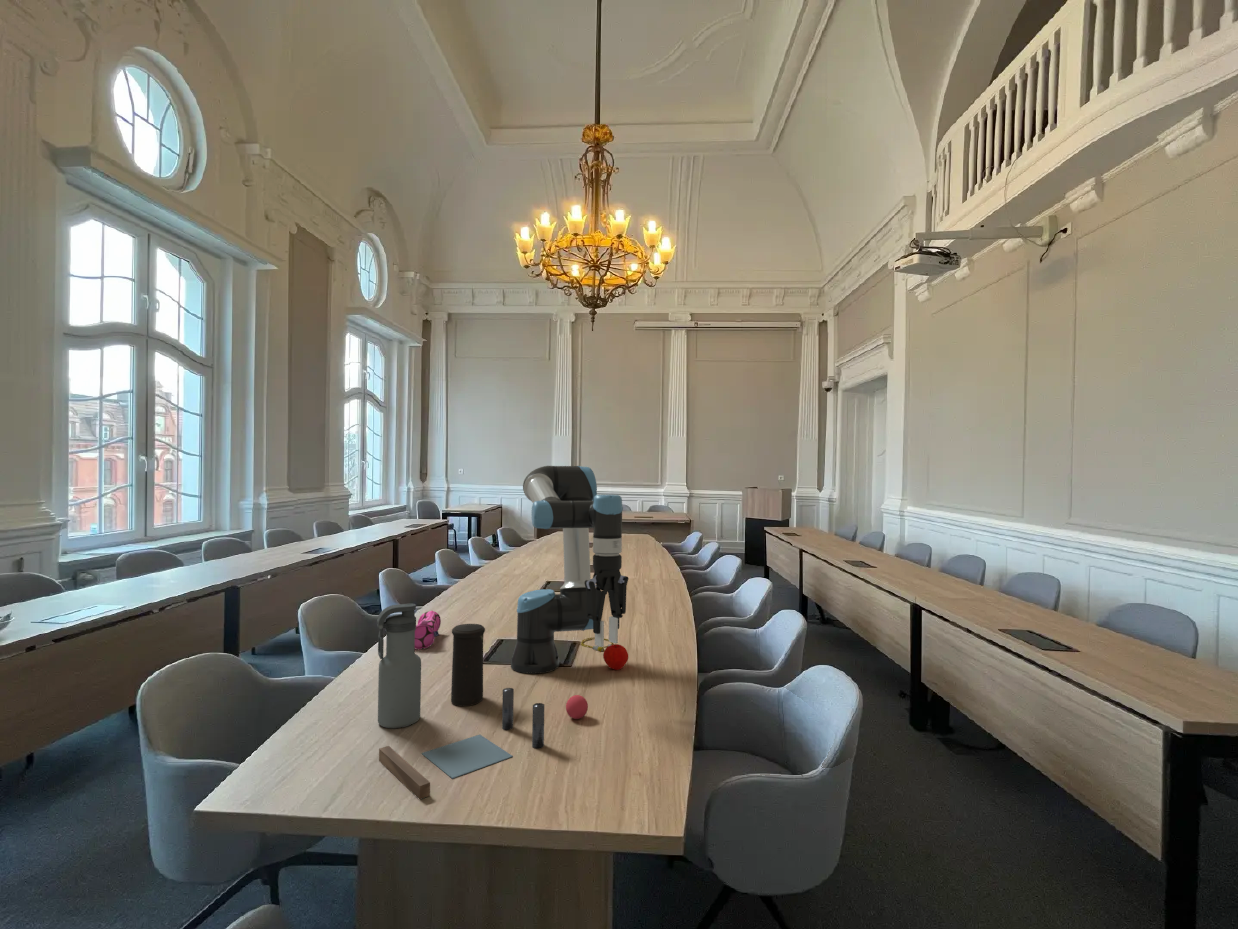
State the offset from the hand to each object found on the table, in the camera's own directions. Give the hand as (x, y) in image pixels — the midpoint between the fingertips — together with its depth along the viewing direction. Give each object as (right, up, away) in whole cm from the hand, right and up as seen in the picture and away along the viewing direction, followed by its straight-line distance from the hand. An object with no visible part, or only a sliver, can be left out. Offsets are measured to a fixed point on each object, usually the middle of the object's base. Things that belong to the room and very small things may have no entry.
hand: (606, 643), depth 154 cm
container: (-37, -17, +4) cm, 41 cm away
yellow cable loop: (-4, -18, +57) cm, 60 cm away
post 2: (-15, -16, -22) cm, 31 cm away
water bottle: (-51, -16, -10) cm, 54 cm away
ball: (-7, -14, -7) cm, 17 cm away
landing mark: (-29, -16, -27) cm, 43 cm away
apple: (+2, -18, +32) cm, 36 cm away
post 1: (-23, -16, -13) cm, 31 cm away
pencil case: (-66, -17, +59) cm, 90 cm away
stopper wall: (-40, -16, -36) cm, 56 cm away
